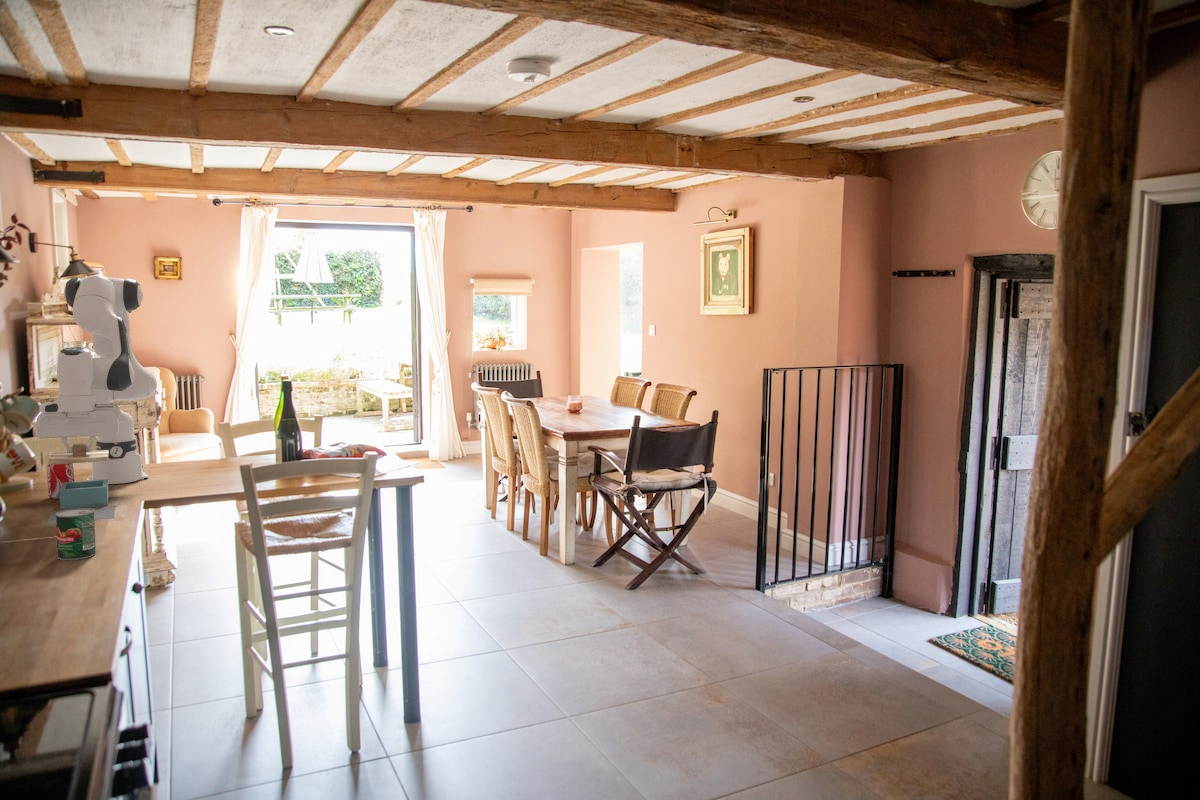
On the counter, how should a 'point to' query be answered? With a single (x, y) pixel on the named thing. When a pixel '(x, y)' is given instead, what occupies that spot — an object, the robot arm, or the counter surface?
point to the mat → (98, 514)
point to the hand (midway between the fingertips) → (79, 452)
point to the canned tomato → (75, 534)
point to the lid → (78, 455)
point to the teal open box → (84, 494)
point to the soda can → (58, 478)
